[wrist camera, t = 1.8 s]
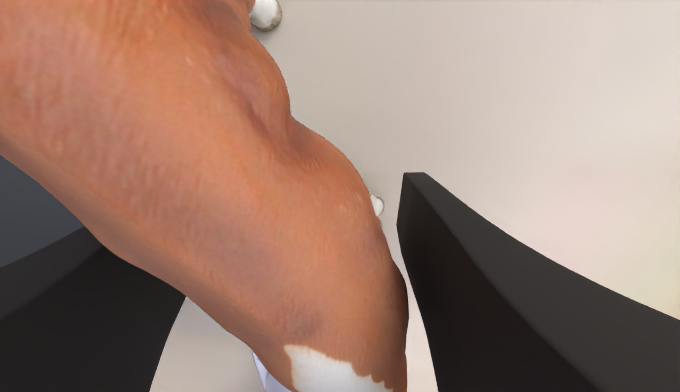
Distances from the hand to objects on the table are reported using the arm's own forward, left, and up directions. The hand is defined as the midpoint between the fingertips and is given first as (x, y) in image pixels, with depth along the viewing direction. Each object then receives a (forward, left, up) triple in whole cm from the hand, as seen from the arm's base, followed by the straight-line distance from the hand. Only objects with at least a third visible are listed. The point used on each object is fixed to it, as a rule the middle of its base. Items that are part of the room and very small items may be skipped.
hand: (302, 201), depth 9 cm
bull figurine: (0, 0, -3) cm, 3 cm away
